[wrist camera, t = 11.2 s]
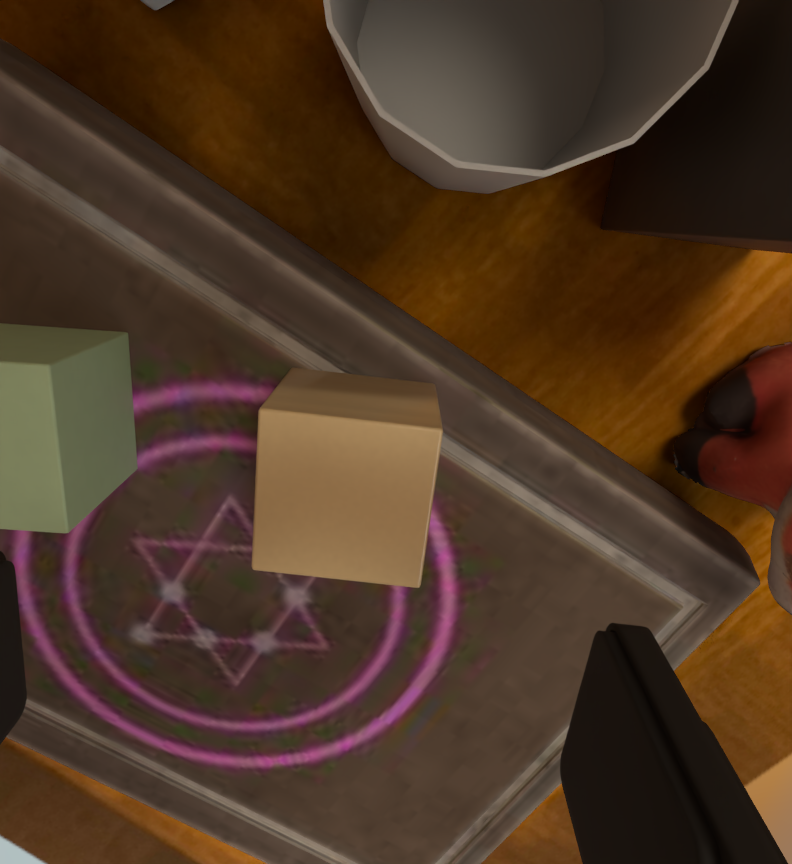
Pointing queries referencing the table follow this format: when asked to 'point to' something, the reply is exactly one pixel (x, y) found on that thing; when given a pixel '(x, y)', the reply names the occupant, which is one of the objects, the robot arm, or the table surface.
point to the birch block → (346, 477)
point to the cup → (518, 78)
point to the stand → (719, 146)
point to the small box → (156, 3)
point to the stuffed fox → (750, 449)
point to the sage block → (62, 424)
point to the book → (297, 594)
